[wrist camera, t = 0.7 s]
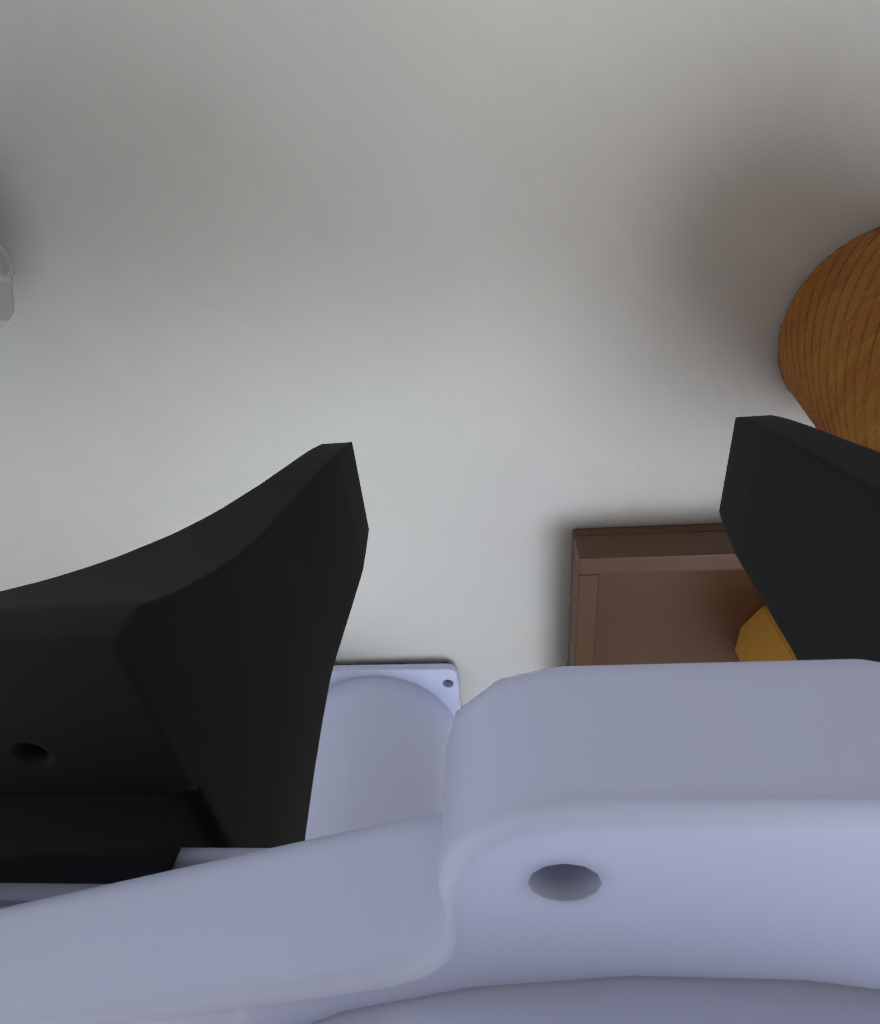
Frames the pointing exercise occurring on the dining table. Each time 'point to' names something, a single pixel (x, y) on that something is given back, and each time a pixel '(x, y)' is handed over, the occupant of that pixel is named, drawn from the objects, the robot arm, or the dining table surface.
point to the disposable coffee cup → (838, 343)
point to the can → (6, 286)
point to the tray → (656, 596)
